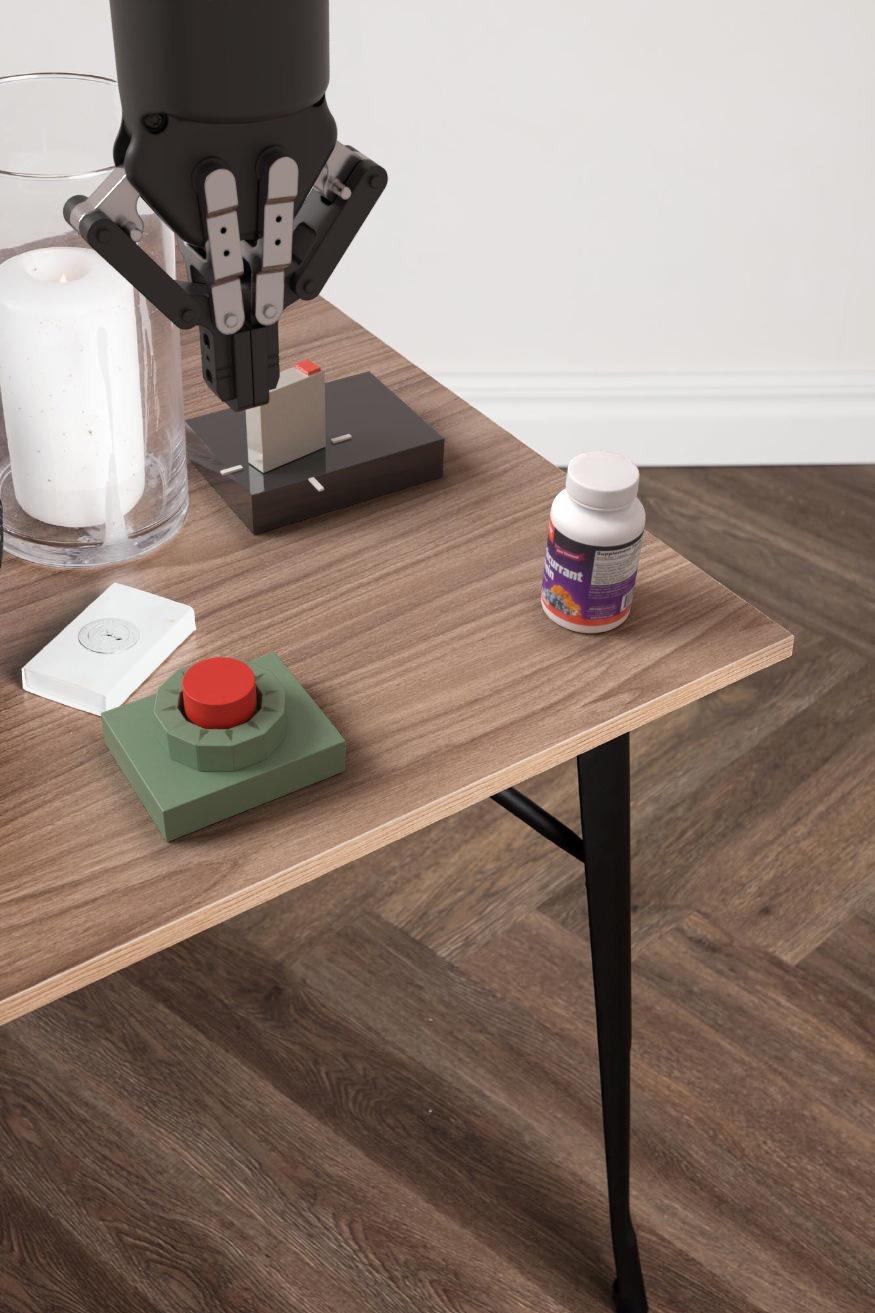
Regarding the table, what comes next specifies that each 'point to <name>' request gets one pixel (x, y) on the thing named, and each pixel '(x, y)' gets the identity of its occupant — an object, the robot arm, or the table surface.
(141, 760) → the button housing
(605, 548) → the pill bottle
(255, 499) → the panel
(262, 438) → the beige rectangular block
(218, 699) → the red button cap
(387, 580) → the table surface
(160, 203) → the robot arm
